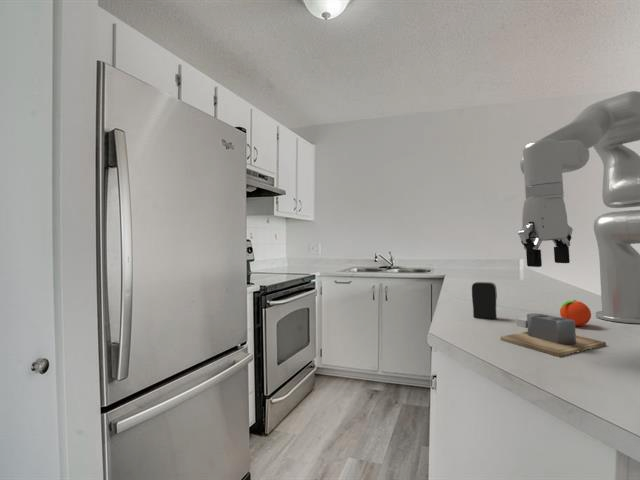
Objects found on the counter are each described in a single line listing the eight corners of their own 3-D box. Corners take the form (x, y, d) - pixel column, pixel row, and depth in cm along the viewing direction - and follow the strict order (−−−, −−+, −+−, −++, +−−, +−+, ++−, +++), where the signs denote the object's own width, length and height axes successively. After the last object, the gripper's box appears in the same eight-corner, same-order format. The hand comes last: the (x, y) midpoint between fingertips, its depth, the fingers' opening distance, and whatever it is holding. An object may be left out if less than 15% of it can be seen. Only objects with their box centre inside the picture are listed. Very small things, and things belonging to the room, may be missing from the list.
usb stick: (580, 343, 75) (579, 320, 75) (567, 346, 73) (566, 323, 73) (527, 330, 87) (526, 311, 87) (515, 332, 85) (514, 313, 85)
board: (544, 331, 88) (544, 327, 88) (606, 345, 75) (605, 341, 75) (500, 339, 82) (500, 336, 82) (558, 356, 69) (558, 352, 69)
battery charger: (498, 317, 105) (497, 281, 105) (496, 320, 102) (495, 283, 102) (475, 315, 109) (473, 280, 110) (472, 317, 106) (470, 282, 106)
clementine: (572, 329, 88) (570, 303, 89) (551, 323, 95) (549, 299, 95) (598, 327, 90) (597, 301, 90) (575, 321, 96) (574, 297, 96)
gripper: (552, 195, 86) (556, 261, 86) (503, 196, 80) (508, 267, 80) (584, 190, 79) (589, 262, 79) (534, 191, 73) (539, 269, 73)
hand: (548, 264), depth 79 cm, fingers open, 9 cm apart
